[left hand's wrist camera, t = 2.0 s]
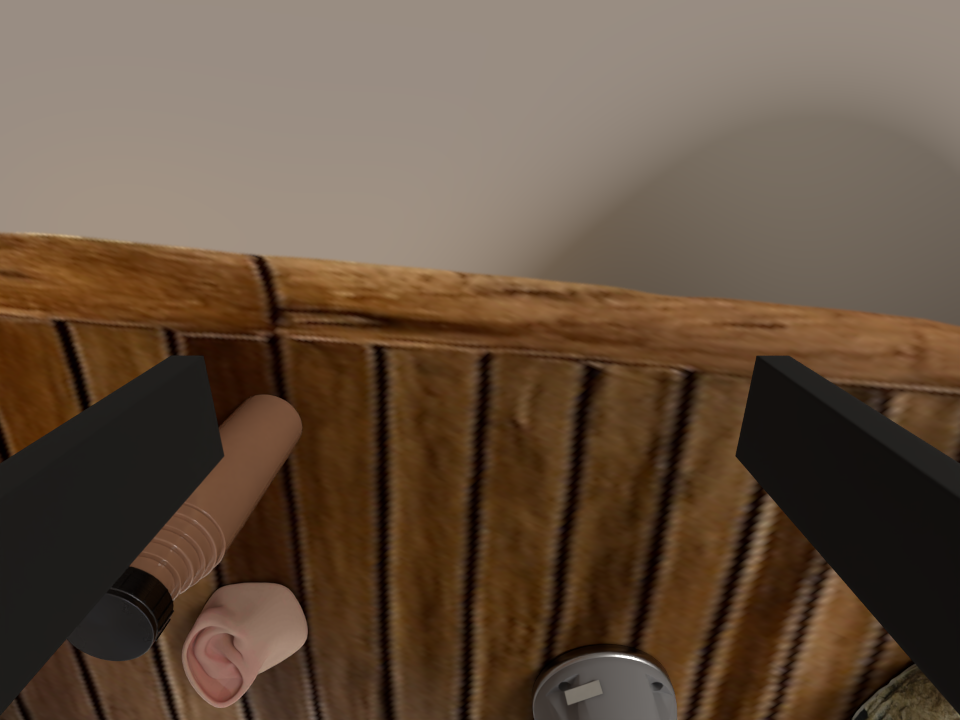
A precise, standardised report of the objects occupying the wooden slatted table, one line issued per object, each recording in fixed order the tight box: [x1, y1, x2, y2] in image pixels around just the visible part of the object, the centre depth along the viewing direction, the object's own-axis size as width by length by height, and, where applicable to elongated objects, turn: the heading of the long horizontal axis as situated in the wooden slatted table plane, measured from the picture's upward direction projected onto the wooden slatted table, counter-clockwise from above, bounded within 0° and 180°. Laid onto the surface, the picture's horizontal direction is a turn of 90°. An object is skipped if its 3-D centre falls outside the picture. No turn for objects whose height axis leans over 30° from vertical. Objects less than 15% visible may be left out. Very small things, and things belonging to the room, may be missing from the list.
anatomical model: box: [182, 583, 308, 708], centre depth 51 cm, size 13×4×12 cm
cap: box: [67, 566, 174, 661], centre depth 26 cm, size 5×5×2 cm
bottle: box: [130, 395, 302, 600], centre depth 35 cm, size 6×6×20 cm
